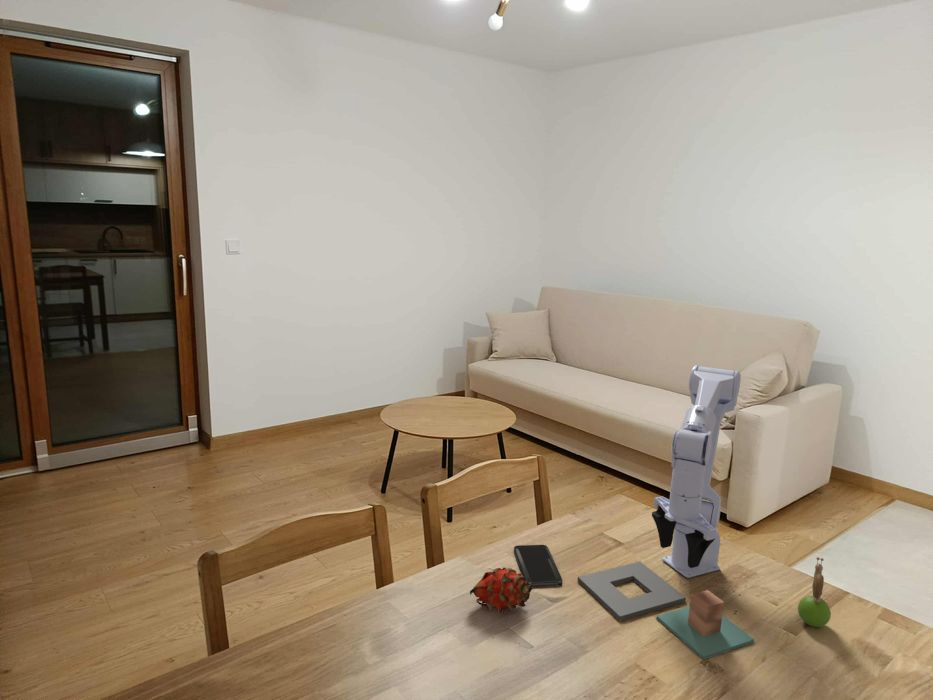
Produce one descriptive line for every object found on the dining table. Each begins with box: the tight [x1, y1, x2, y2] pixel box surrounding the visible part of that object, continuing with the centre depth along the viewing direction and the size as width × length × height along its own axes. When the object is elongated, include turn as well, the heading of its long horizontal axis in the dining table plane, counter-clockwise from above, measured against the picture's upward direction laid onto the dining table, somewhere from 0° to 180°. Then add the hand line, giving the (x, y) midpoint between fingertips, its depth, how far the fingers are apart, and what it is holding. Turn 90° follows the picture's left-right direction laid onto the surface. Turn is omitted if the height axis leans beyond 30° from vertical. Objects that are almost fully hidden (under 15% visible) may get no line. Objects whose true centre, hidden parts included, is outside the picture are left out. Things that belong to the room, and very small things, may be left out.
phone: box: [513, 544, 564, 588], centre depth 135 cm, size 8×1×15 cm
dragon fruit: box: [469, 567, 533, 615], centre depth 120 cm, size 8×8×12 cm
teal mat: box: [656, 605, 755, 660], centre depth 116 cm, size 12×12×1 cm
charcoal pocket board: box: [577, 561, 687, 622], centre depth 127 cm, size 16×14×1 cm
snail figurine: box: [797, 557, 832, 628], centre depth 118 cm, size 5×6×12 cm
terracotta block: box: [688, 589, 725, 637], centre depth 115 cm, size 4×4×6 cm
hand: (679, 556), depth 122 cm, fingers open, 7 cm apart
